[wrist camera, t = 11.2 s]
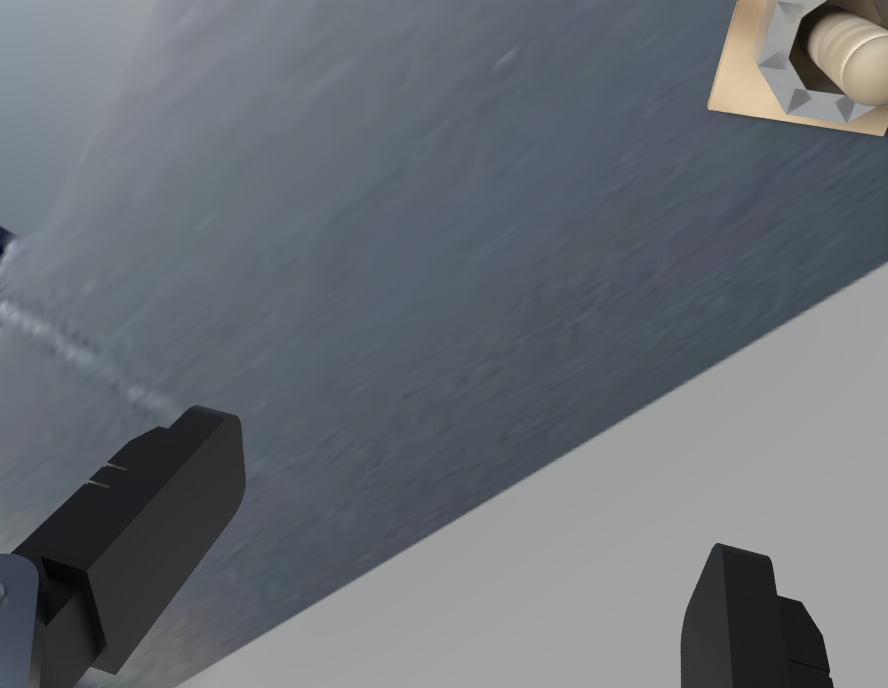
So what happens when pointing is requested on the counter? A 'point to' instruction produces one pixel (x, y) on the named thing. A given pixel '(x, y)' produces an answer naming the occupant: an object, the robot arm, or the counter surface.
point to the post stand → (810, 63)
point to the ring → (791, 90)
